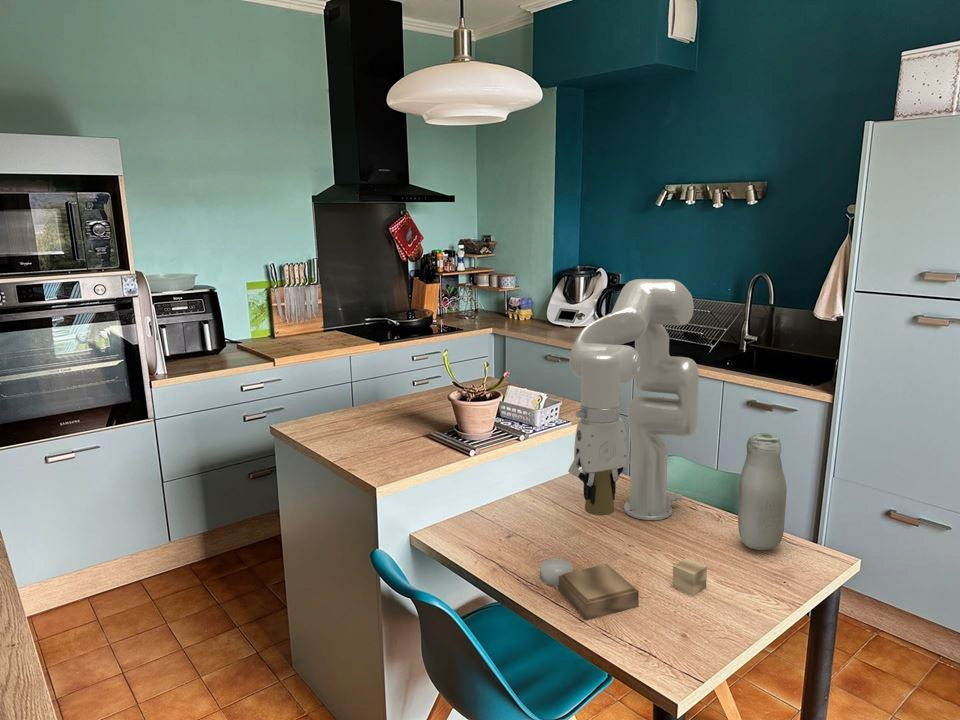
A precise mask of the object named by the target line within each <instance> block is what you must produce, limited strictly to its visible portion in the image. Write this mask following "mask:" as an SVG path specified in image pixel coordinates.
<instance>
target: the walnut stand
mask: <svg viewBox="0 0 960 720" xmlns="http://www.w3.org/2000/svg"><path fill="white" fill-rule="evenodd" d="M558 591H559V593H561V594H562V596H563V597H564V598H565V599H566V600H567V601H568V602H569V603H570V604H571V605H572V606H573V608H575V610H577V611H578V612H579V614H580V615H581V616H582V617H583V618H584V619H585V620H586V621H588V620H593V619H596V618H599V617H604V616H607V615H612V614H615V613H619V612H623V611H627V610H631V609H634V608H638V607H639V597H640V595H639V594H640V593H639V592H640V591H639V590H638V589H637V588H636V587H634V586H633V585H632V584H631V583H630V582H629V581H628V580H626V579H625V578H624V577H623V576H622V575H621V574H619V573H618V572H617V571H616V570H615V569H613V568H612V567H611V566H610V565H609V564H608V563H604V564H600V565H595V566H592V567H588V568H583V569H579V570H575V571H573V572H570V573H565V574H563V575H561V576H559V586H558Z"/></svg>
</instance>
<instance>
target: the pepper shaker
mask: <svg viewBox="0 0 960 720" xmlns="http://www.w3.org/2000/svg"><path fill="white" fill-rule="evenodd" d="M611 472H612V470H606V471H602V472H597V473H594V481H593V485H595V487H596V493H595V503H594V504H591V502H590V499H587V500H585V503H584V511H585V512H586V513H587V514H590V515H593V516H603V517H604V516H608V515H609V516H610V515H611V514H614V512H615V504H614V500H613V496H612V488H611V479H610V474H611Z"/></svg>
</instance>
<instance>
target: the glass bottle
mask: <svg viewBox="0 0 960 720" xmlns="http://www.w3.org/2000/svg"><path fill="white" fill-rule="evenodd" d="M781 452H782V444H781V440H780V438H779V437H777V436H776V435H774V434H770V433H766V432H761V433H755V434H752V435H750V437H749V438H748V440H747V441H746V456H745V460H744V463H743V467H742V470H741V471H740V472H741V473H740V476H739V480H738V481H739V482H738V515H737V525H738V527H737V528H738V534H739V537H740V539H741V542H742V543H743V544H744V545H745V546H747V547H748V548H749V549H753V550H757V551H769V550H773V549H775V548H776V547H778V546H779V545H780V544H781V542H782V541H783V537H784V531H785V520H786V518H785V517H786V507H787V490H788V489H787V482H786V476H785V473H784V470H783V464H782V458H781V454H782V453H781Z"/></svg>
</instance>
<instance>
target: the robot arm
mask: <svg viewBox="0 0 960 720" xmlns="http://www.w3.org/2000/svg"><path fill="white" fill-rule="evenodd" d="M694 304H695V303H694V299H693V296H692V293H691V292H690V291H689V290H688V288H687V287H686V286H685V285H684V284H683V283H681V281H678V280H675V279H672V278H671V279H670V278H669V279H668V278H665V279H664V278H663V279H662V278H661V279H660V278H659V279H658V278H657V279H654V278H639V279H633V280H630V281H627V283H625V285H623V287H622V289H621V291H620V293H619V295H618V298H617V299H616V302H615V304H614V306H613V308H612V310H611V313H607V314H606V315H604V316H602V317H599V318H598V319H596V320H595V321H593V322H591V323H589V324H587V325H586V326H585V327H584V328H583V329H581V331H580V332H579V333H578V336H577V337H576V339H575V342H574V343H573V346H572V347H571V350H570V353H569V360H568V363H569V369H570V371H571V373H572V374H573V376H575V377H576V378H579V379H580V407H579V408H580V409H579V410H576V411H575V416H576V418H580V419H578V422H577V425H576V430H575V437H574V448H573V450H574V452H573V460H572V463H571V465H570V467H569V468H568V471H567V472H568V473H569V474H571V475H572V476H574V477H576V478H577V479H579V480H580V481H581V482H582V483H583V498H584V500H585V501H586V500H587V499H590V502H591V504H594V503H595V493H596V487H595V485H593V481H594V473H597V472H602V471H606V470H612V472H611V474H610V479H611V488H612V496H613V501H615V499H616V498H615V497H616V496H615V495H616V488H617V486H616V485H617V483H616V482H618V480H619V476H620V475H621V474H622V473H623V471H624V469H626V468H627V467H628V466H629V465H630V469H629V470H630V474H629V475H630V477H629V478H630V479H629V480H630V481H629V484H630V485H629V486H630V487H629V500H627V501H625V503H624V505H623V510H624V512H625V514H627V515H628V516H629V517H632V518H634V519H639V520H642V521H643V520H644V521H661V520H664V519H667V518H669V517H670V516H672V514H673V507H672V505H671V504H672V503H673V502H680V501H682V500H683V496H682V494H681V493H674V494H672V493H673V492H671V491H668V454H669V453H668V447H667V444H666V442H665V441H664V439H663V437H662V436H661V435H663V436H664V435H665V436H673V437H690V436H692V435H694V433H695V432H696V430H697V426H698V410H699V384H700V383H699V380H700V379H699V378H700V377H699V368H698V364H697V363H696V362H695V360H694V359H692V358H690V357H686V356H685V357H684V356H671V355H670V336H669V333H668V332H667V330H666V328H665V327H664V325H667V326H668V325H669V326H685V325H687V324H689V322H690V321H691V319H692V318H693V315H694V309H695V308H694ZM630 342H634V347H632V346H630V345H624V344H627V343H630ZM633 379H634V383H635V386H636V388H638V389H639V390H641V391H644V392H647V393H648V392H649V393H661V394H670V395H671V394H673V395H676V396H677V398H673V397H672V398H671V397H664V396H662V397H661V396H650V395H649V396H648V395H646V396H645V395H642V396H641V395H640V396H637V397H634V398H633V399H631V400H630V402H629V403H628V405H627V410H626V411H627V423H628V427H629V429H628V430H629V437H630V438H629V440H630V459H629V457H628V441H627V434H626V432H627V431H626V427H625V423H624V420H623V418H621V417H620V389H621V387H620V385H621V384H622V383H627V382H629V381H630V382H631V380H633ZM580 468H581V471H580Z"/></svg>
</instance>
